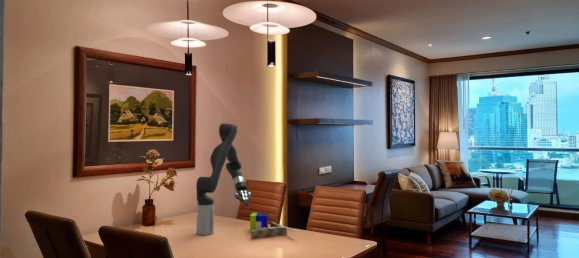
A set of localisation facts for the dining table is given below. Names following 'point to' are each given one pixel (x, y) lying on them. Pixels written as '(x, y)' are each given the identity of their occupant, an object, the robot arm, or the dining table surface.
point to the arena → (270, 231)
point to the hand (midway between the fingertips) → (247, 205)
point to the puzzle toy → (258, 221)
